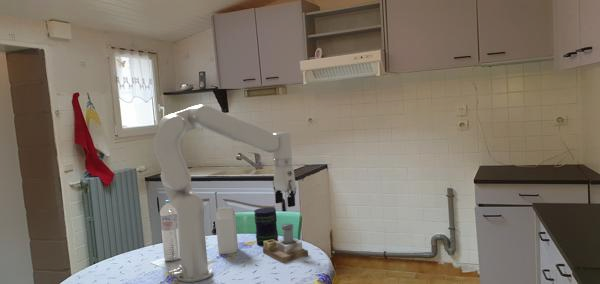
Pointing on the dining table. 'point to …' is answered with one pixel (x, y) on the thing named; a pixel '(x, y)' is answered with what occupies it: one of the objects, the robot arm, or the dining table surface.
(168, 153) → the robot arm
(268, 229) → the storage jar
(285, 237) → the cylinder
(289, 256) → the manifold board
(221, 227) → the milk carton
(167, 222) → the water bottle
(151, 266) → the dining table surface
